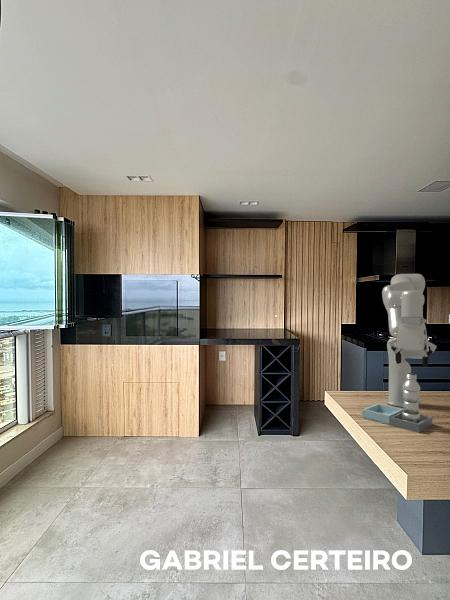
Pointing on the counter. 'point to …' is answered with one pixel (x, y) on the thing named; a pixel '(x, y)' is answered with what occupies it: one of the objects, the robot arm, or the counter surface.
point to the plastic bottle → (411, 399)
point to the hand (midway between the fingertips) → (411, 365)
